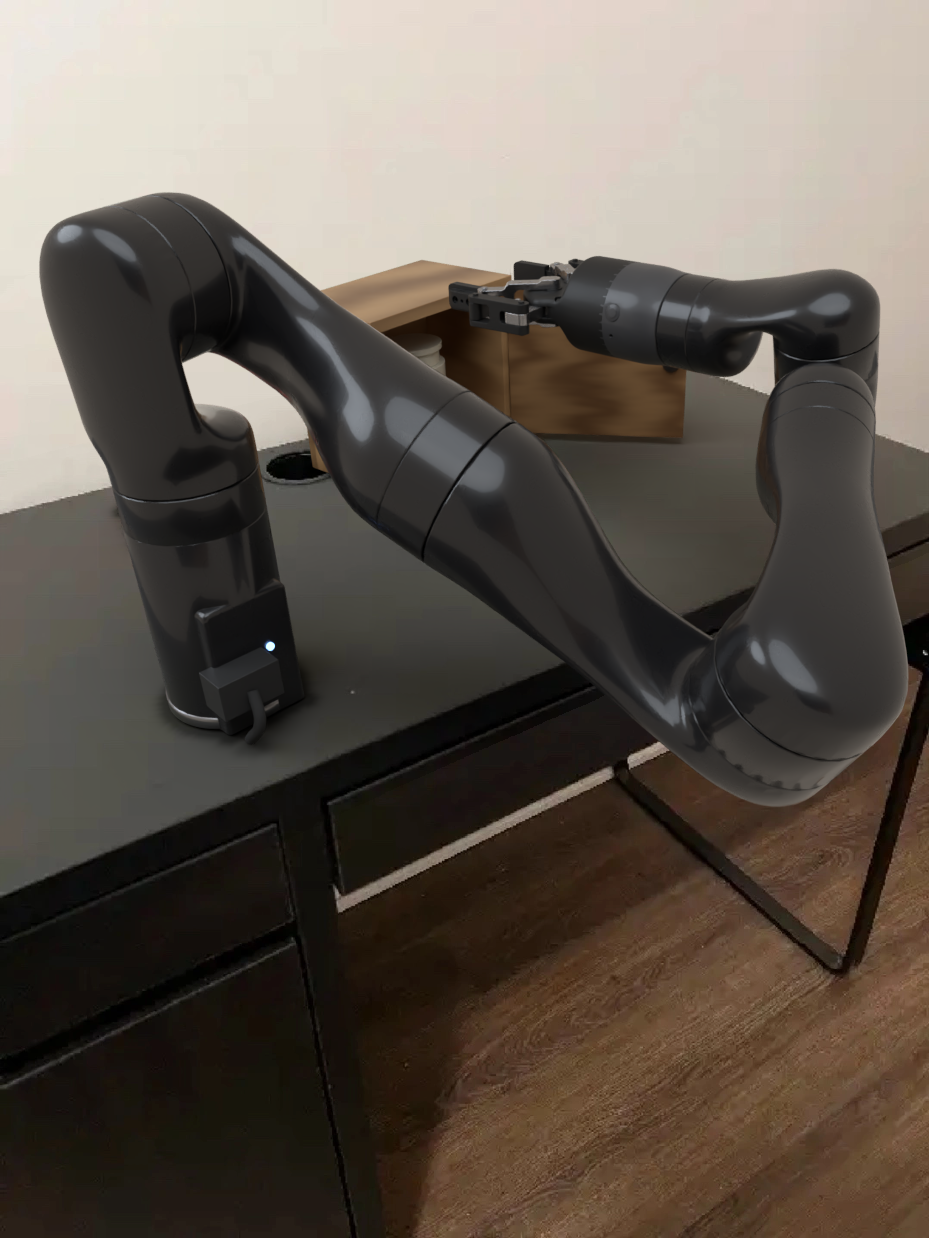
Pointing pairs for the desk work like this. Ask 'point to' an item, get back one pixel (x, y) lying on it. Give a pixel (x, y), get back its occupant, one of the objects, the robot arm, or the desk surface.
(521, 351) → the cabinet
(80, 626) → the desk surface
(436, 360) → the white jar
